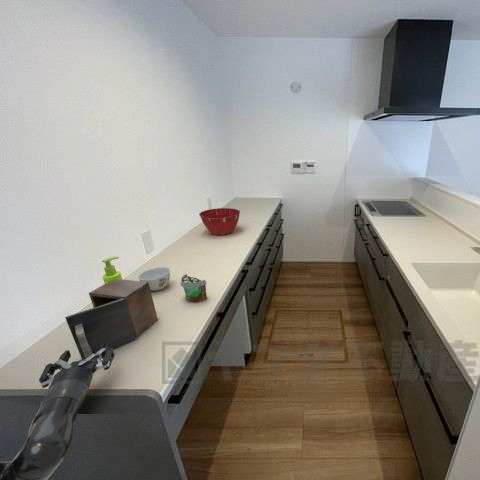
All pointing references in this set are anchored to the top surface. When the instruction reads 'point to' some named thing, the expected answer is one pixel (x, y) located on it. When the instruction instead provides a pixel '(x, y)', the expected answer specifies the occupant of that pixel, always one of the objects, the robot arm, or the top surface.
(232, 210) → the mixing bowl
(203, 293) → the food container
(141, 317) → the cupboard
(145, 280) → the teacup
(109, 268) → the soap dispenser
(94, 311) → the door
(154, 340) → the top surface
